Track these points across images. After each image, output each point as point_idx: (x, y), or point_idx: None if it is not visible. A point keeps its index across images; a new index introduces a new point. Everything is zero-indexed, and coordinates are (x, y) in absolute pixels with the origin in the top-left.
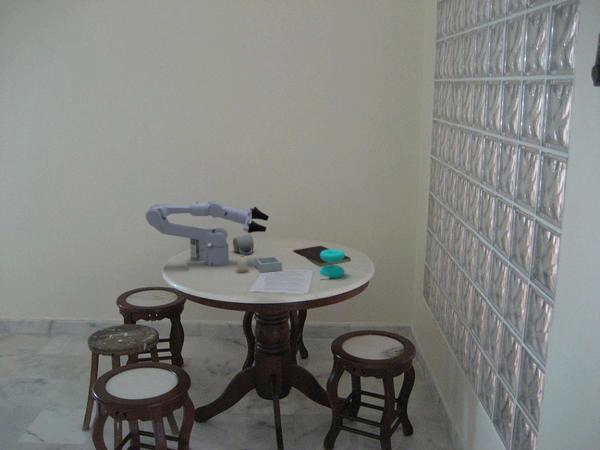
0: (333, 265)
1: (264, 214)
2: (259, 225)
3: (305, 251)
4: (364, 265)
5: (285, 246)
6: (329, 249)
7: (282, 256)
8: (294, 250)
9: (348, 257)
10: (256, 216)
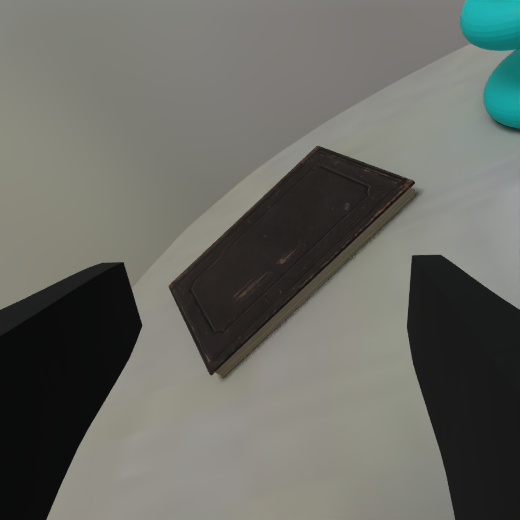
0: (517, 66)
1: (57, 291)
2: (501, 319)
3: (236, 307)
4: (371, 102)
5: (105, 454)
6: (486, 4)
7: (261, 425)
8: (215, 362)
9: (319, 146)
10: (10, 488)
